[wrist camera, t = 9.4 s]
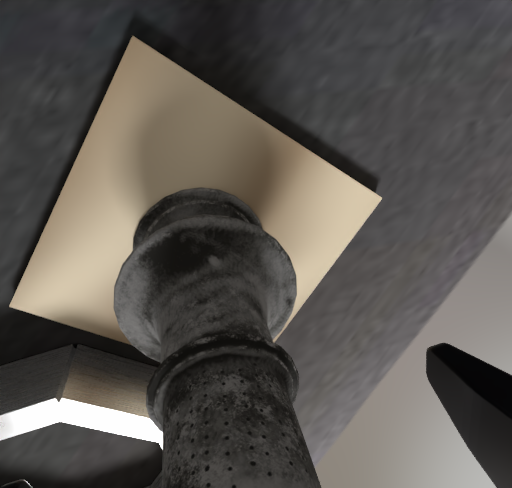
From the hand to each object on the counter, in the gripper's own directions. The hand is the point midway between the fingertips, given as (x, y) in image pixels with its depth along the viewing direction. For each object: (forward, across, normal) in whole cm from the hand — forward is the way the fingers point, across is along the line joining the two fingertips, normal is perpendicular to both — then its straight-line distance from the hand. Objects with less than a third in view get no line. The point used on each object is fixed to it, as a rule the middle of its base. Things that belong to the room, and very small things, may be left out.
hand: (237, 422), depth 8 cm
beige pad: (+9, 0, 0) cm, 9 cm away
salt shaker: (+8, 0, 0) cm, 8 cm away
